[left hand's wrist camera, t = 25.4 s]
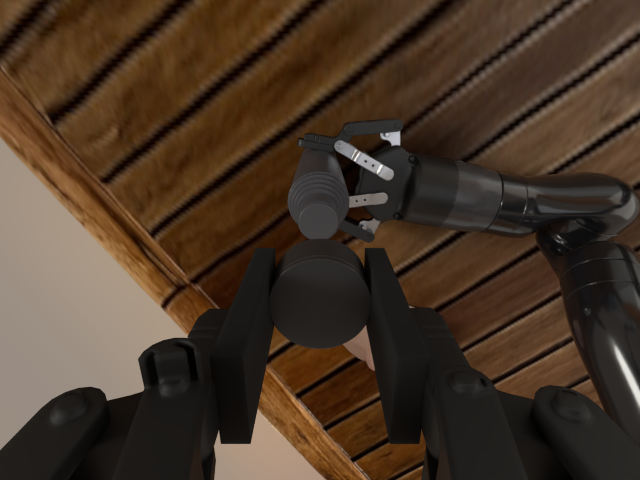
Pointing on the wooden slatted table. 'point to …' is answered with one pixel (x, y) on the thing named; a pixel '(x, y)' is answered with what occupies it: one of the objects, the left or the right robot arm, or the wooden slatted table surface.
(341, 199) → the bottle
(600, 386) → the right robot arm
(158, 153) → the wooden slatted table surface
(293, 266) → the cap
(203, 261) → the wooden slatted table surface
